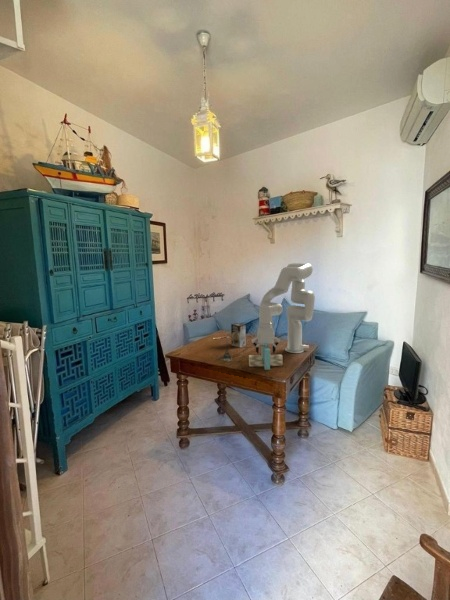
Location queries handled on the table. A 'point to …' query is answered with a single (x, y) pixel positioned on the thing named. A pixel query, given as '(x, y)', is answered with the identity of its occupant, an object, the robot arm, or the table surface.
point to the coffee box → (238, 335)
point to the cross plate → (266, 356)
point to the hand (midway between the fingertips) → (265, 352)
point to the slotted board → (257, 361)
